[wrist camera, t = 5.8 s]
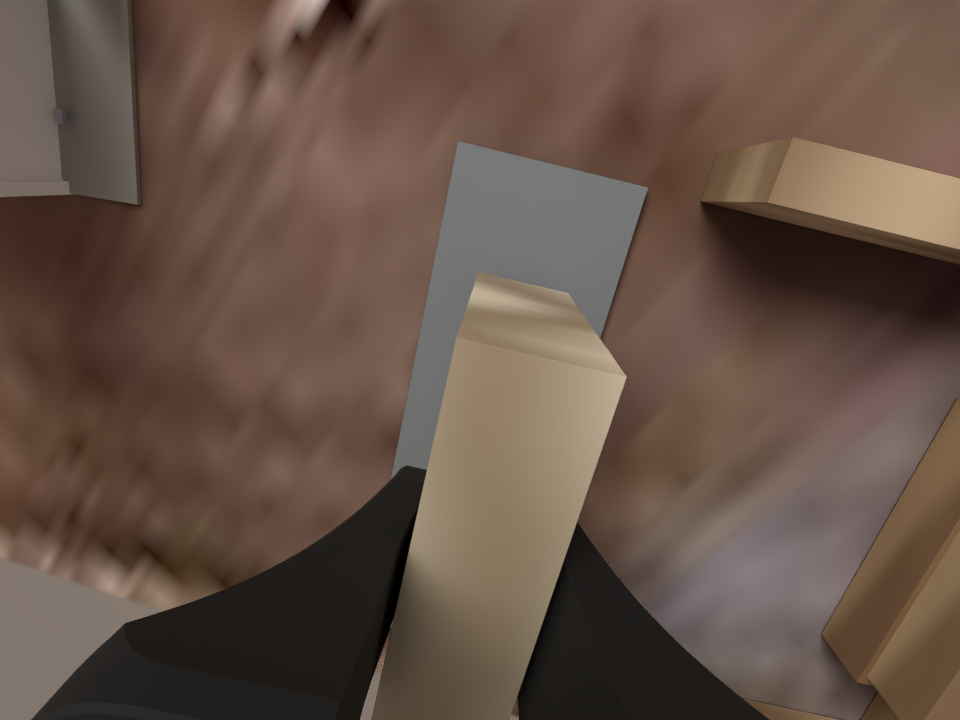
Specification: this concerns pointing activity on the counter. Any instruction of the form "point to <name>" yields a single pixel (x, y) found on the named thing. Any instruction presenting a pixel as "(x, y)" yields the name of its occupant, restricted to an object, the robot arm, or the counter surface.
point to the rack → (840, 227)
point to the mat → (513, 259)
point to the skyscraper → (68, 100)
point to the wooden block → (497, 502)
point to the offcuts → (911, 594)
